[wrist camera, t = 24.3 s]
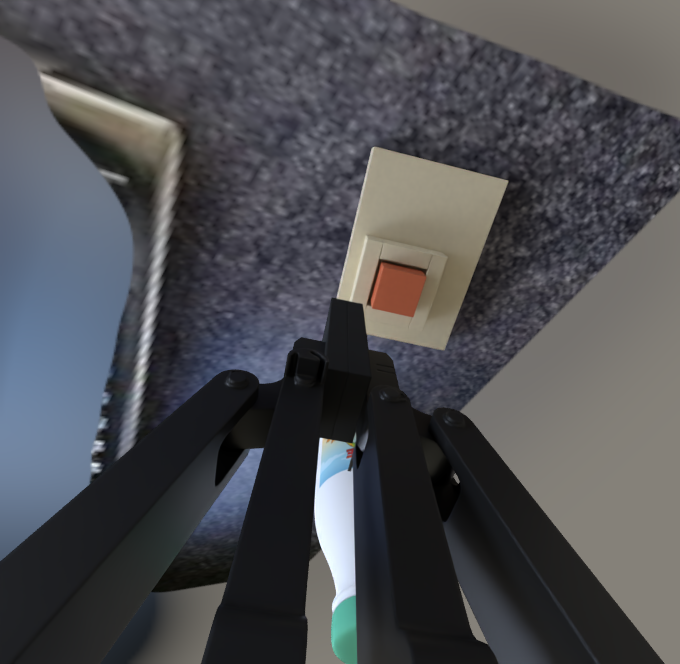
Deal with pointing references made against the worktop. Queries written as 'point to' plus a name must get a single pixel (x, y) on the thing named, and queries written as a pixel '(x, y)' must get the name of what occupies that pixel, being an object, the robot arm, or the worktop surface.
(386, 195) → the light switch
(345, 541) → the milk bottle
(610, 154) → the worktop surface
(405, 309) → the red switch button
